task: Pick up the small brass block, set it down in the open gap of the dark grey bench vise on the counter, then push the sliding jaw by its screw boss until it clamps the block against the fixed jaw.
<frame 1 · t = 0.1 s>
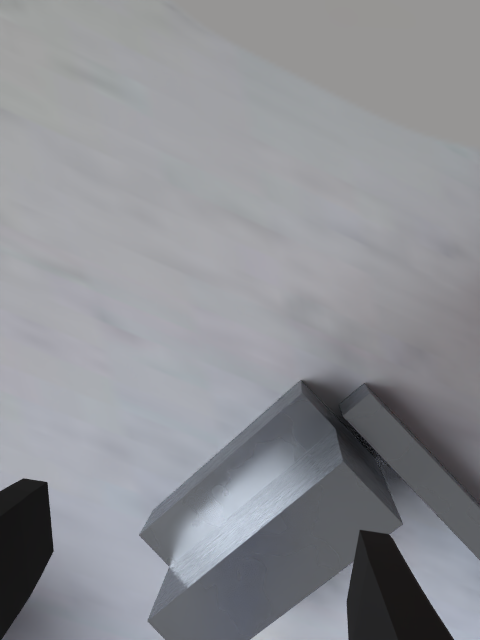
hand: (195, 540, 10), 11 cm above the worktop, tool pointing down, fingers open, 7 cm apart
vise: (274, 500, 21), on the worktop
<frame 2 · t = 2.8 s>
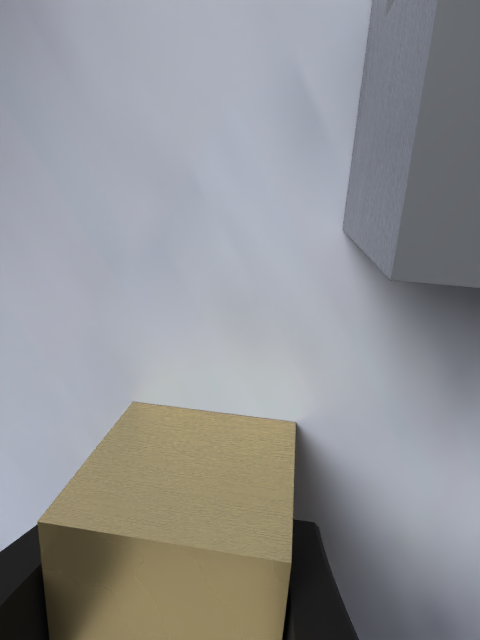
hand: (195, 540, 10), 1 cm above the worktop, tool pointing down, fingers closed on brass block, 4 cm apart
brass block: (208, 497, 11), on the worktop, touching gripper
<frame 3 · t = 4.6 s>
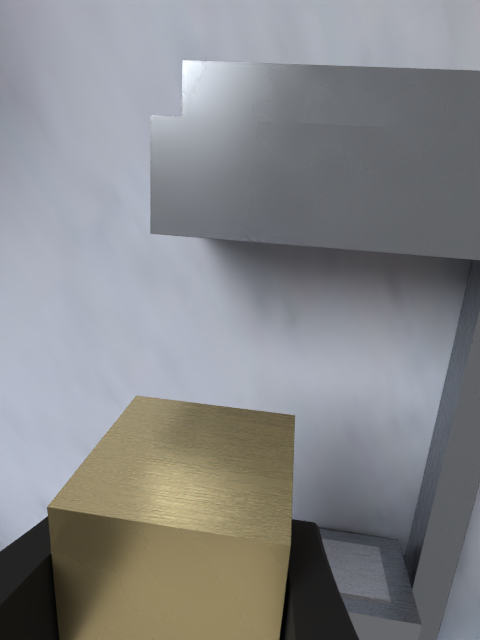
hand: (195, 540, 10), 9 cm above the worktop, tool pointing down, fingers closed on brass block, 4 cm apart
sliding jaw: (277, 635, 19), point 2 cm above the worktop, slide at 0.0 cm
brass block: (209, 489, 11), point 7 cm above the worktop, touching gripper
vise: (328, 189, 16), on the worktop
when the fingers open (2 cm above the worktop, at t = 6.5 s): brass block stays where it is, on the worktop.
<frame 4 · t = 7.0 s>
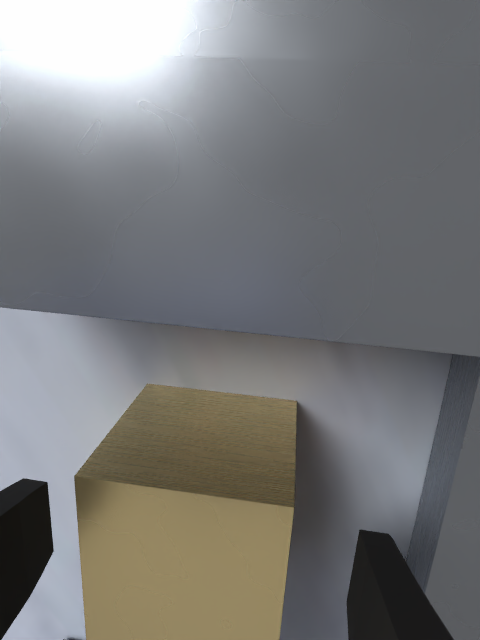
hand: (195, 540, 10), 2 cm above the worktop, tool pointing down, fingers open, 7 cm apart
brass block: (217, 470, 12), on the worktop
vise: (230, 195, 10), on the worktop
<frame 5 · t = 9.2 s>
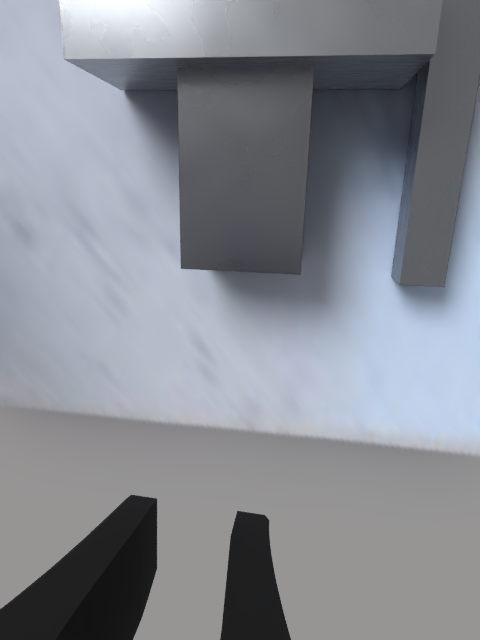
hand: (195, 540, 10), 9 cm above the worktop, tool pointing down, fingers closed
sliding jaw: (247, 126, 14), point 2 cm above the worktop, slide at 0.0 cm
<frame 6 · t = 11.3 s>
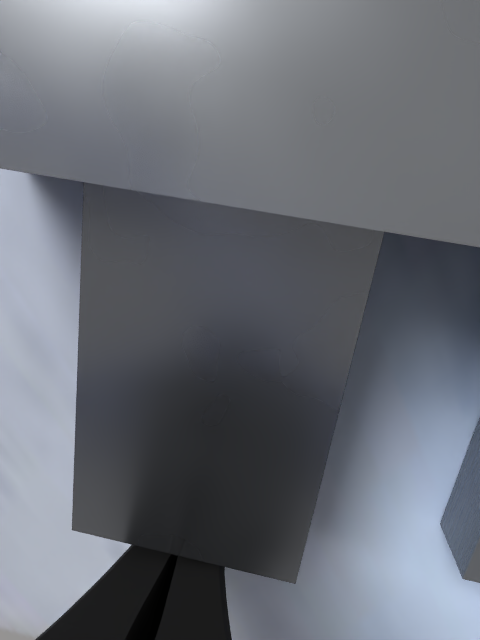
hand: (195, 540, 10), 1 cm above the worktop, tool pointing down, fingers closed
sliding jaw: (227, 290, 7), point 2 cm above the worktop, slide at 0.1 cm, touching gripper
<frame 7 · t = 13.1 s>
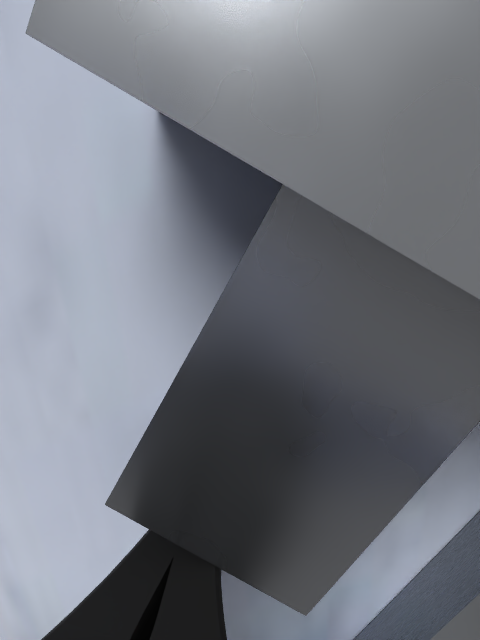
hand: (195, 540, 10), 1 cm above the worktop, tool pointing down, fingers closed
sliding jaw: (347, 329, 7), point 2 cm above the worktop, slide at 8.3 cm, touching brass block, gripper
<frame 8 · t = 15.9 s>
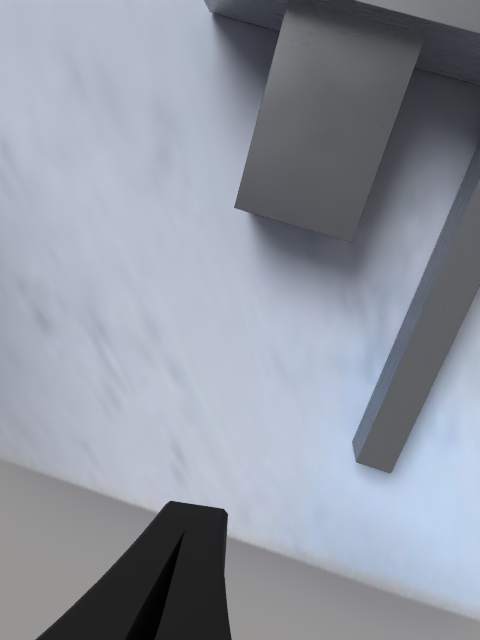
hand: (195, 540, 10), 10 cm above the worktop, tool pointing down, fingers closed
sliding jaw: (336, 80, 14), point 2 cm above the worktop, slide at 8.2 cm
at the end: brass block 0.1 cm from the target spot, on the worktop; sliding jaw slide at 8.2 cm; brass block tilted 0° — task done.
